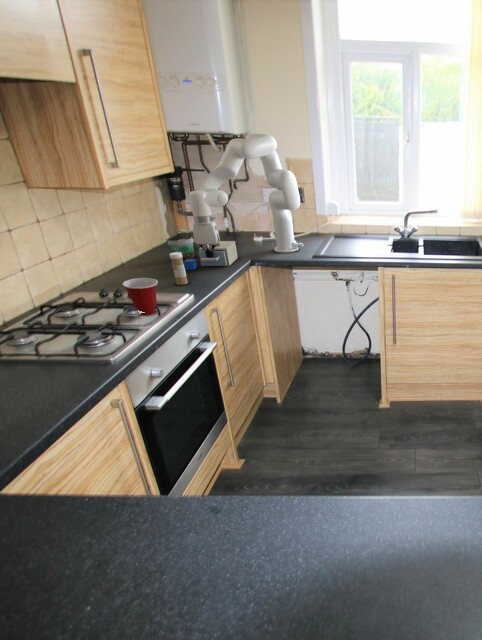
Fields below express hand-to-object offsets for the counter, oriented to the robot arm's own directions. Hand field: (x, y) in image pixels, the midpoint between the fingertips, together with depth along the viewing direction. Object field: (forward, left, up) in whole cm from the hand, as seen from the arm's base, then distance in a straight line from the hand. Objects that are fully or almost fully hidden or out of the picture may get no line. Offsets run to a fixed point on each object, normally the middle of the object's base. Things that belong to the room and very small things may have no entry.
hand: (210, 258), depth 222 cm
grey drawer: (0, -6, -4) cm, 7 cm away
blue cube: (+10, -1, -5) cm, 11 cm away
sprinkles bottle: (+6, +22, -5) cm, 23 cm away
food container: (+18, -18, -5) cm, 26 cm away
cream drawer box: (0, -12, -5) cm, 13 cm away
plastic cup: (+6, +55, -5) cm, 56 cm away
